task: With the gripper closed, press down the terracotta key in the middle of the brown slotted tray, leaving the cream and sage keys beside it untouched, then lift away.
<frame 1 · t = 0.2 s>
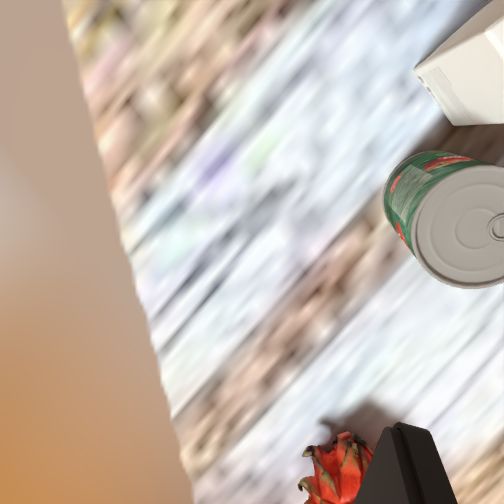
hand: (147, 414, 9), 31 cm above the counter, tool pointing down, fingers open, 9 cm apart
canned tomato: (429, 196, 37), on the counter
dragon fruit: (340, 456, 46), on the counter
skincare box: (476, 59, 33), on the counter
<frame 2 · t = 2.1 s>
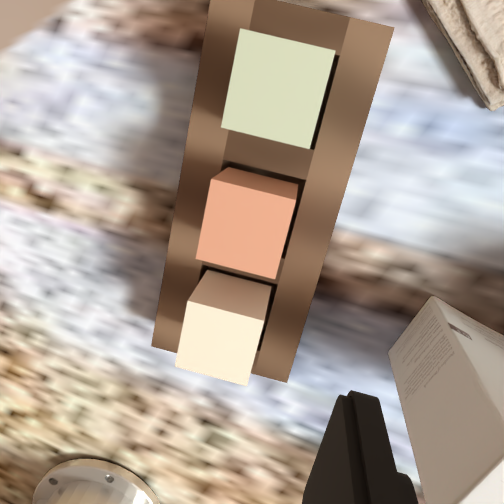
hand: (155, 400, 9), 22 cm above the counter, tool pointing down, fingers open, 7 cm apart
brown slotted tray: (260, 200, 30), on the counter
skincare box: (449, 347, 32), on the counter
terracotta key: (250, 219, 25), point 5 cm above the counter, slide at 0.0 cm
cream key: (225, 324, 27), point 5 cm above the counter, slide at 0.0 cm
sage key: (279, 92, 22), point 5 cm above the counter, slide at 0.0 cm
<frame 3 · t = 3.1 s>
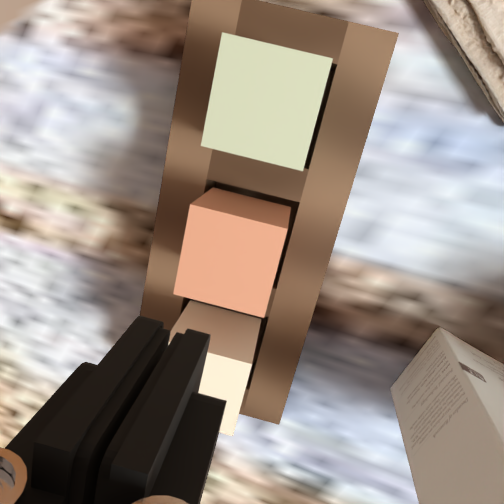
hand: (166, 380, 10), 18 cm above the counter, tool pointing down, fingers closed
brown slotted tray: (249, 222, 27), on the counter
skincare box: (458, 383, 29), on the counter
terracotta key: (236, 247, 22), point 5 cm above the counter, slide at 0.0 cm
cream key: (209, 363, 24), point 5 cm above the counter, slide at 0.0 cm
sage key: (268, 106, 20), point 6 cm above the counter, slide at 0.0 cm
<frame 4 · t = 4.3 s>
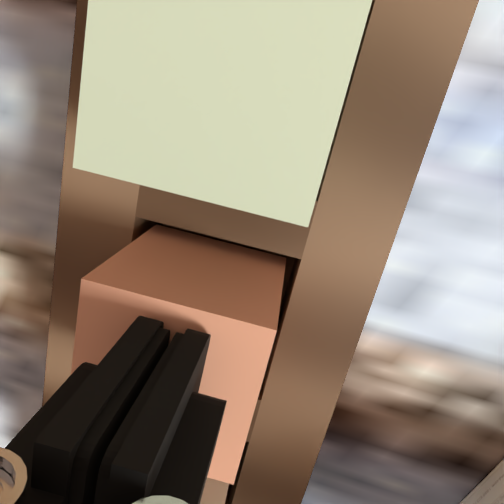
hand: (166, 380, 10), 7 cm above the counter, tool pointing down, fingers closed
brown slotted tray: (220, 277, 17), on the counter
terracotta key: (189, 336, 12), point 5 cm above the counter, slide at 0.8 cm, touching gripper
sage key: (236, 80, 9), point 5 cm above the counter, slide at 0.0 cm
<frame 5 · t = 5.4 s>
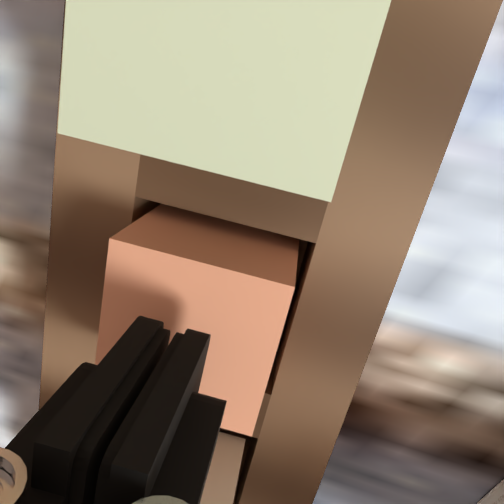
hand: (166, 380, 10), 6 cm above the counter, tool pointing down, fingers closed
brown slotted tray: (227, 264, 16), on the counter
terracotta key: (208, 300, 13), point 3 cm above the counter, slide at 2.4 cm
sage key: (246, 36, 8), point 5 cm above the counter, slide at 0.0 cm
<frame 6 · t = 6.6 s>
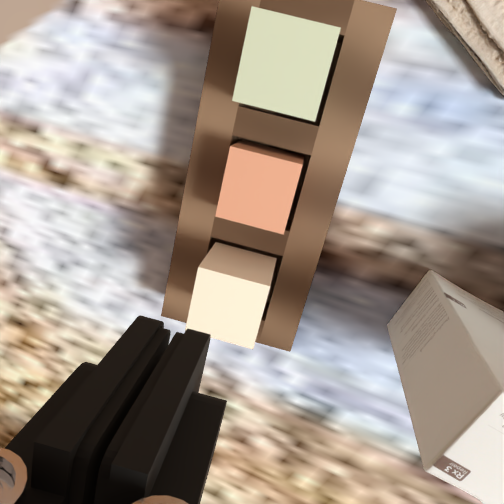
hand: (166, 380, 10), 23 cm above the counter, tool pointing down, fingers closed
brown slotted tray: (266, 177, 31), on the counter
skincare box: (446, 320, 33), on the counter
terracotta key: (261, 184, 28), point 3 cm above the counter, slide at 2.4 cm
cream key: (233, 292, 28), point 5 cm above the counter, slide at 0.0 cm
sage key: (286, 69, 24), point 5 cm above the counter, slide at 0.0 cm
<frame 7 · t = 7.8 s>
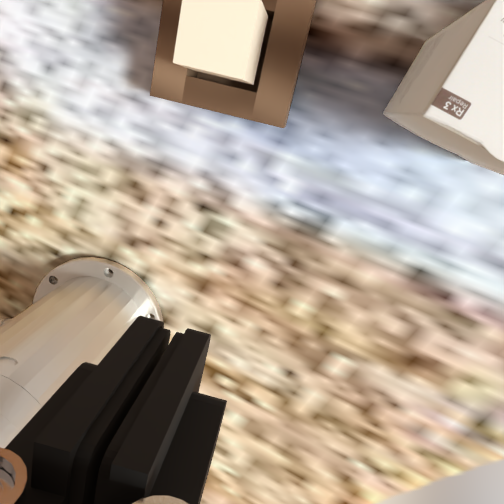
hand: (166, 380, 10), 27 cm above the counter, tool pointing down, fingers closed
skincare box: (444, 104, 32), on the counter
cream key: (223, 38, 27), point 6 cm above the counter, slide at 0.0 cm
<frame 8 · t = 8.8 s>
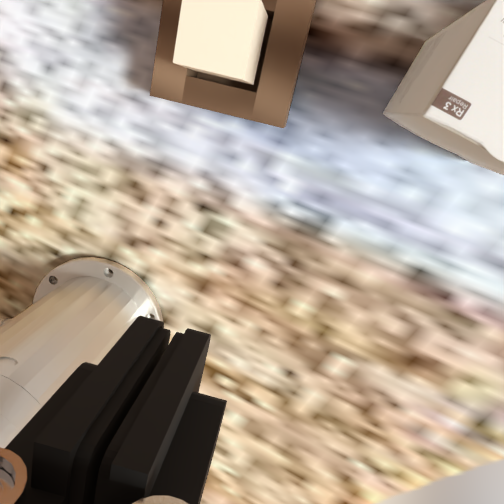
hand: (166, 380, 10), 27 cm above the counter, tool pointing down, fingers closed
skincare box: (443, 104, 32), on the counter
cream key: (223, 38, 27), point 5 cm above the counter, slide at 0.0 cm
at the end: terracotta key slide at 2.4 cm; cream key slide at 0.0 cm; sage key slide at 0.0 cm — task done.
